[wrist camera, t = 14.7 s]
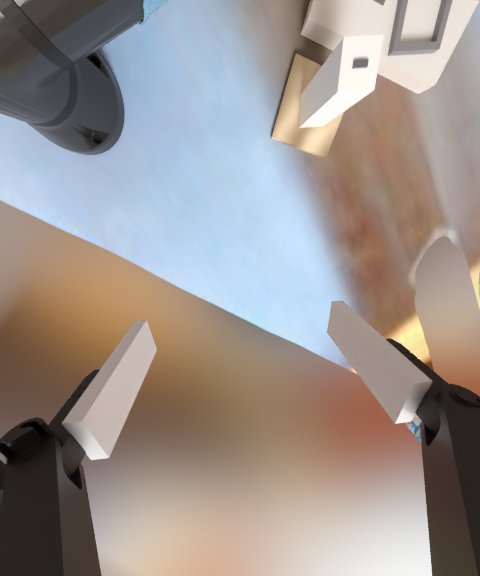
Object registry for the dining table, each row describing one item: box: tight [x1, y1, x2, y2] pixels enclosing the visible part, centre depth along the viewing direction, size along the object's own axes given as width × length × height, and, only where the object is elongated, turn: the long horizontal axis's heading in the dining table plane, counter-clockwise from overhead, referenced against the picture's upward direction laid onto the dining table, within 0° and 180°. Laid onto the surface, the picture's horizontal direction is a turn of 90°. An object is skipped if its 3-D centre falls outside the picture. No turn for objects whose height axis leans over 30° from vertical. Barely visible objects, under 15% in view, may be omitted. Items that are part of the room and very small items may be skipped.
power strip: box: [301, 0, 479, 94], centre depth 28 cm, size 23×10×4 cm, turn 74°
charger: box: [299, 35, 384, 128], centre depth 27 cm, size 4×4×13 cm
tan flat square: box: [271, 53, 344, 158], centre depth 33 cm, size 11×11×1 cm
